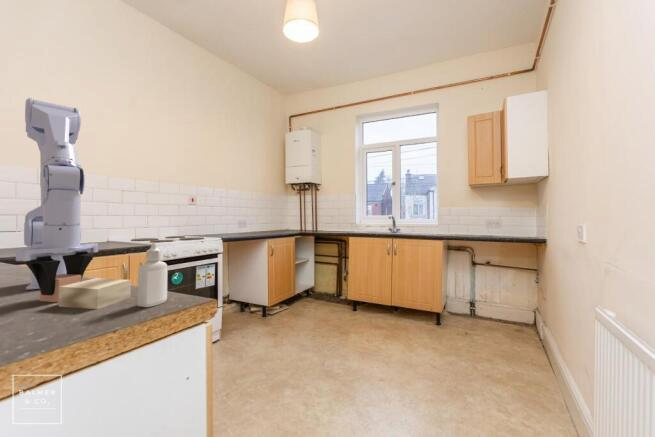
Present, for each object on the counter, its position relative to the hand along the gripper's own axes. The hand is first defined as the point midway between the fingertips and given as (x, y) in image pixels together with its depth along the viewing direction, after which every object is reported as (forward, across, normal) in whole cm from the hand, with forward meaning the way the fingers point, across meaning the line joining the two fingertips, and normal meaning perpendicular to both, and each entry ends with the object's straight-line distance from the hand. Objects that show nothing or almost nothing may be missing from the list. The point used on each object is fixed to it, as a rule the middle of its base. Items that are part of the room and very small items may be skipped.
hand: (60, 291), depth 62 cm
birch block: (+2, 0, -8) cm, 9 cm away
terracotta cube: (+1, 0, 0) cm, 1 cm away
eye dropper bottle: (+2, +1, -20) cm, 20 cm away
